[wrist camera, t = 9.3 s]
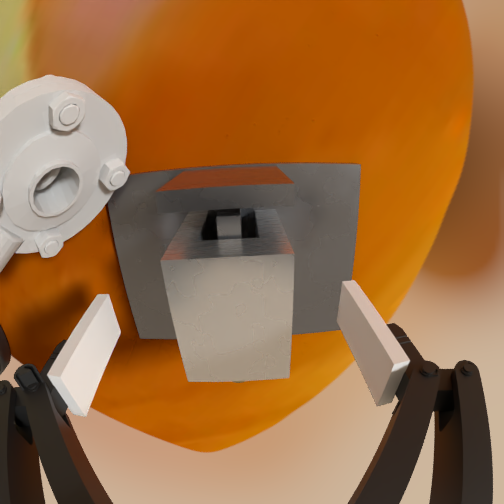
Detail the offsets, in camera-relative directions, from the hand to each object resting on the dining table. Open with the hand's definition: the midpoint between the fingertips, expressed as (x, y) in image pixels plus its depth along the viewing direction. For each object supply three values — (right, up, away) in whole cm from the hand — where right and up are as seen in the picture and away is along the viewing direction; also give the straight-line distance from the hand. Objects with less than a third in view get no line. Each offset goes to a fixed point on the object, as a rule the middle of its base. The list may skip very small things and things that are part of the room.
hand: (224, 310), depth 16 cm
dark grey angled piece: (0, +3, +6) cm, 7 cm away
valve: (-16, +11, +2) cm, 20 cm away
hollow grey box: (0, +2, +6) cm, 6 cm away
